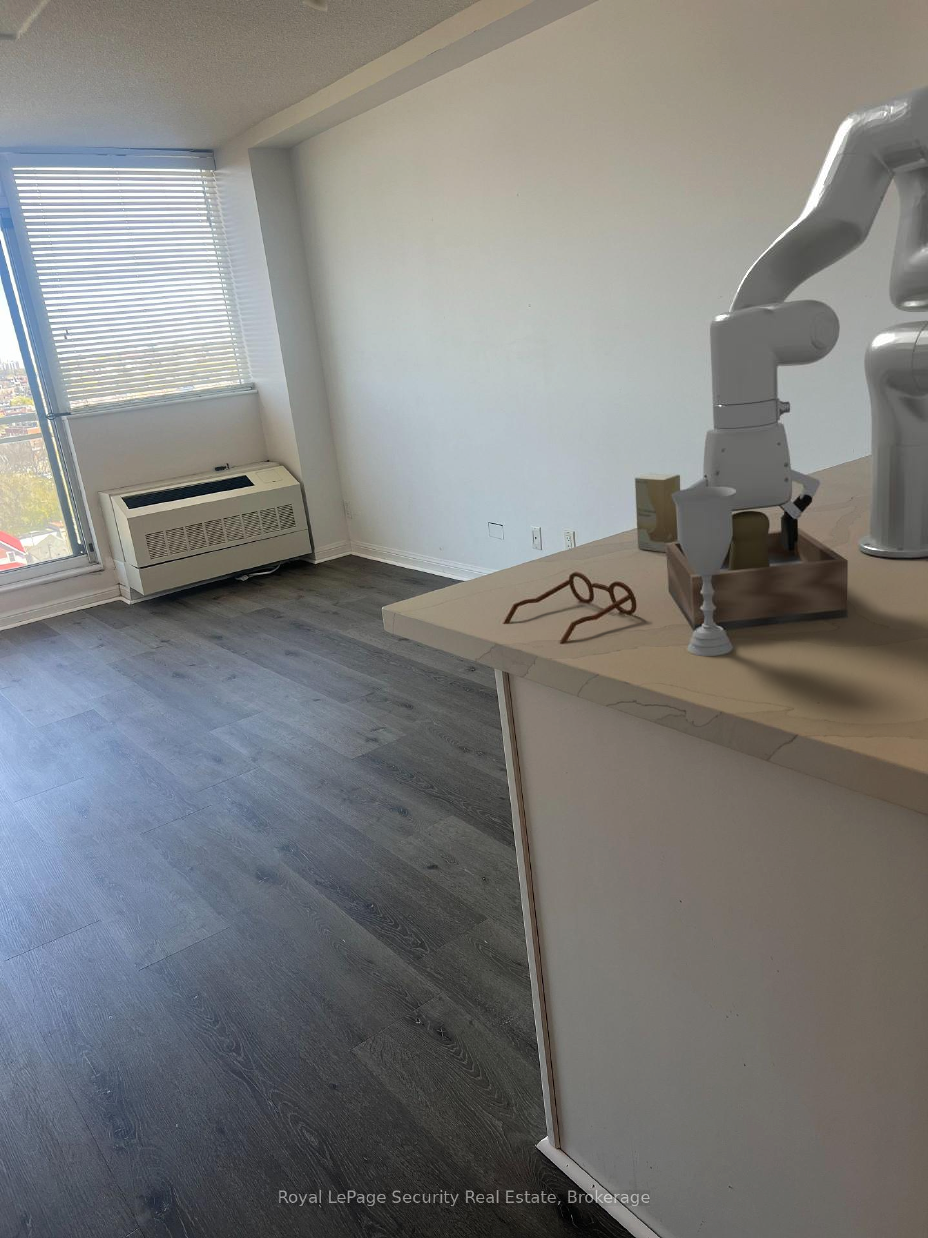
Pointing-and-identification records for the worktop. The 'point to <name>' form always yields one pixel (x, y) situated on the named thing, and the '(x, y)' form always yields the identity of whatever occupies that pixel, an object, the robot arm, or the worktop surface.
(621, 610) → the glasses
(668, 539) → the skincare box
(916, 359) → the robot arm
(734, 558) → the cork
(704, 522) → the chalice
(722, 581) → the wooden box
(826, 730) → the worktop surface
